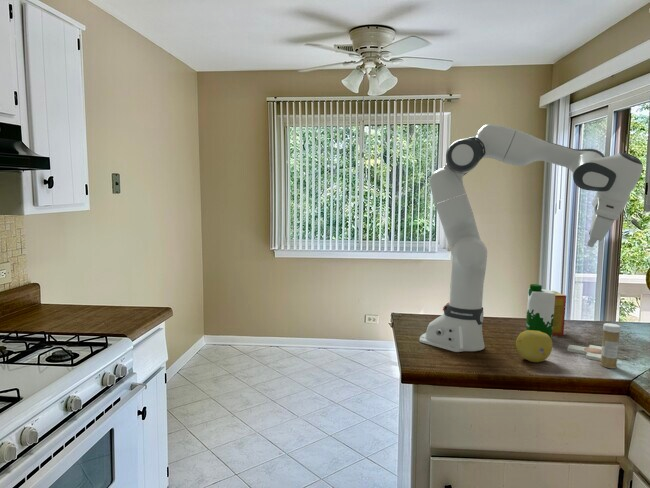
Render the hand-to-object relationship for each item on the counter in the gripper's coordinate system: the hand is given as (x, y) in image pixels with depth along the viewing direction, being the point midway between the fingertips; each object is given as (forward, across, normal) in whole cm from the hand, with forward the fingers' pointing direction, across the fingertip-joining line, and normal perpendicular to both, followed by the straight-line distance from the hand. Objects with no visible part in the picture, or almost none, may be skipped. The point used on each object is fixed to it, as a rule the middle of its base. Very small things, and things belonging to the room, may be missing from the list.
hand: (590, 240), depth 152 cm
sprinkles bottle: (+29, +24, +18) cm, 41 cm away
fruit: (+33, +31, -3) cm, 45 cm away
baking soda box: (+46, -6, +2) cm, 46 cm away
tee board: (+34, +13, +13) cm, 39 cm away
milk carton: (+43, +4, -2) cm, 43 cm away
